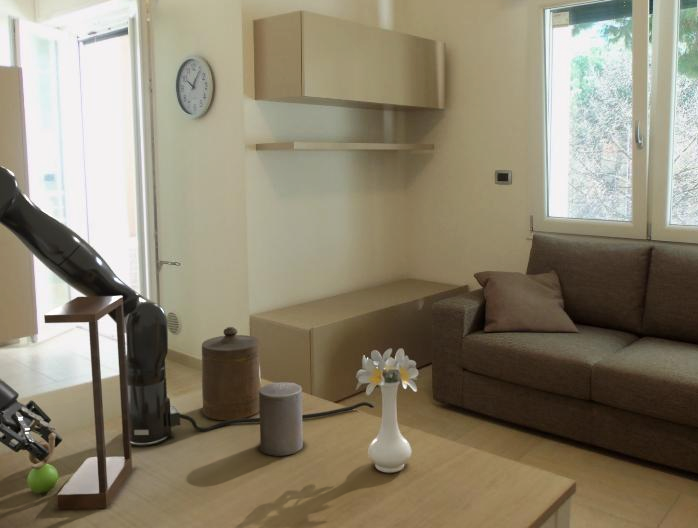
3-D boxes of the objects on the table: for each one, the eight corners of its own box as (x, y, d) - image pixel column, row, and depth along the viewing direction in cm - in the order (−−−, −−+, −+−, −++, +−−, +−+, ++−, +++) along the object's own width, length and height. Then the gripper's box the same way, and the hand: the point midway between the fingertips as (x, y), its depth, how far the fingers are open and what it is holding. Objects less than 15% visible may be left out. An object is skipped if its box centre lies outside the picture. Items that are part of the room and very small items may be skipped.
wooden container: (272, 404, 182) (270, 323, 180) (238, 424, 169) (235, 337, 166) (226, 396, 188) (223, 318, 186) (190, 415, 175) (187, 331, 172)
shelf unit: (57, 509, 129) (44, 315, 124) (88, 470, 145) (77, 296, 140) (106, 508, 130) (94, 314, 125) (132, 469, 145) (122, 295, 141)
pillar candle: (251, 452, 153) (249, 387, 152) (274, 435, 162) (273, 374, 160) (289, 459, 150) (288, 393, 148) (311, 441, 159) (309, 379, 157)
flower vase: (419, 447, 155) (419, 340, 152) (417, 486, 137) (417, 365, 134) (362, 445, 157) (361, 339, 153) (352, 484, 138) (351, 364, 135)
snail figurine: (68, 484, 139) (64, 428, 137) (43, 500, 133) (39, 441, 131) (47, 480, 141) (43, 424, 139) (21, 495, 135) (17, 437, 133)
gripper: (-21, 393, 126) (50, 453, 129) (15, 369, 141) (79, 423, 143) (-49, 422, 127) (23, 480, 129) (-9, 394, 141) (54, 448, 143)
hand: (52, 450), depth 136 cm, fingers closed on snail figurine, 5 cm apart
